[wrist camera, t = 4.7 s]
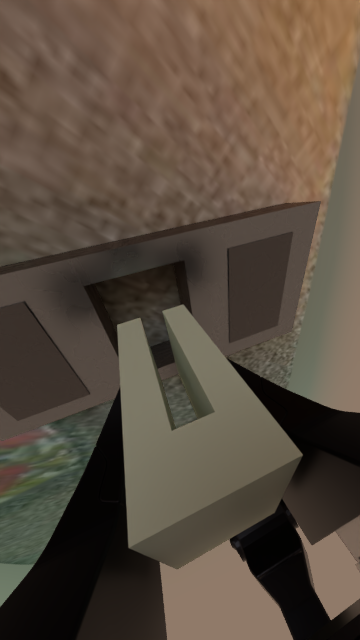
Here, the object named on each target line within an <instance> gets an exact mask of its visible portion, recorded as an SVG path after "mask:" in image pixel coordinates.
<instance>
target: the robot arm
mask: <svg viewBox="0 0 360 640" xmlns="http://www.w3.org/2000/svg"><path fill="white" fill-rule="evenodd" d="M226 359H227V358H226ZM227 360H228V361H229V363H230V364H231V365H232V366H233V368H234V369H235V370H236V371H237V373H238V374H239V375H240V376H241V378H242V379H243V380H244V381H245V383H246V384H247V385H248V386H249V388H250V389H251V390H252V391H253V393H254V394H255V395H256V396H257V398H258V399H259V400H260V401H261V403H262V404H263V405H264V406H265V408H266V409H267V410H268V412H269V413H270V414H271V415H272V417H273V418H274V419H275V420H276V422H277V423H278V424H279V425H280V427H281V428H282V429H283V430H284V432H285V433H286V434H287V435H288V437H289V438H290V439H291V440H292V442H293V443H294V444H295V445H296V447H297V448H298V449H299V450H300V452H301V453H302V454H303V456H302V458H301V460H300V462H299V464H298V466H297V468H296V470H295V472H294V474H293V476H292V478H291V480H290V482H289V484H288V486H287V488H286V490H285V492H284V494H283V497H282V499H281V501H280V503H279V505H278V507H277V509H276V511H275V513H273V514H271V515H270V516H268V517H266V518H265V519H263V520H261V521H259V522H258V523H256V524H254V525H253V526H251V527H249V528H247V529H246V530H244V531H242V532H241V533H239V534H237V535H235V536H234V537H232V538H230V543H231V545H232V547H233V548H234V549H235V550H237V552H238V554H239V555H240V557H241V558H242V560H243V562H244V561H247V564H248V567H249V569H250V571H251V573H252V574H253V575H254V577H255V578H256V579H257V581H258V582H259V584H260V585H261V586H262V587H263V589H264V590H265V591H266V592H267V593H268V594H269V596H270V597H271V598H272V599H273V600H274V601H275V603H276V604H277V605H278V606H279V607H280V608H281V611H282V613H283V616H284V618H285V620H286V623H287V625H288V627H289V630H290V632H291V635H292V637H293V640H360V599H359V600H357V601H356V602H355V603H354V604H352V605H351V606H350V607H348V608H347V609H346V610H344V611H343V612H342V613H340V614H339V615H338V616H337V617H335V618H334V619H332V620H330V618H329V616H328V614H327V613H326V611H325V609H324V607H323V605H322V603H321V602H320V600H319V598H318V596H317V594H316V593H315V589H314V583H313V579H312V574H311V569H310V565H309V560H308V555H307V552H306V550H305V548H304V545H303V543H302V540H301V538H300V536H299V534H298V533H297V531H296V528H298V525H299V526H300V528H301V529H302V531H303V533H304V534H305V536H306V537H307V539H308V540H309V542H310V543H311V545H314V544H315V543H317V542H318V541H320V540H322V539H323V538H324V537H326V536H328V535H329V534H331V533H333V532H334V531H336V533H337V534H338V536H339V537H340V538H341V540H342V541H343V543H344V544H345V545H346V547H347V548H348V550H349V551H350V553H351V554H352V555H353V557H354V558H355V560H356V561H357V562H358V563H357V564H356V567H357V569H358V570H359V572H360V413H355V412H345V411H339V410H336V409H331V408H329V407H326V406H324V405H321V404H319V403H317V402H314V401H312V400H310V399H307V398H305V397H303V396H300V395H298V394H296V393H293V392H291V391H289V390H287V389H285V388H282V387H280V386H278V385H276V384H274V383H272V382H270V381H268V380H266V379H265V378H263V377H260V376H259V375H257V374H255V373H253V372H251V371H250V370H248V369H246V368H244V367H242V366H240V365H238V364H237V363H235V362H233V361H231V360H229V359H227ZM96 446H97V447H95V448H94V450H93V453H92V455H91V458H90V460H89V462H88V464H87V467H86V469H85V471H84V473H83V475H82V477H81V479H80V481H79V484H78V486H77V488H76V490H75V492H74V494H73V496H72V498H71V499H70V501H69V503H68V505H67V507H66V509H65V511H64V513H63V515H62V517H61V519H60V521H59V523H58V525H57V527H56V529H55V531H54V533H53V535H52V537H51V538H50V540H49V542H48V544H47V546H46V547H45V549H44V551H43V552H42V554H41V556H40V557H39V559H38V560H37V562H36V563H35V564H34V566H33V567H32V569H31V570H30V571H29V573H28V574H27V575H26V576H25V578H24V579H23V580H22V581H21V582H20V584H19V585H18V586H17V587H16V589H15V590H14V591H13V592H12V594H11V595H10V596H9V597H8V598H7V600H6V601H5V602H4V603H3V605H2V606H1V607H0V640H167V634H166V623H165V613H164V603H163V593H162V583H161V574H160V563H159V561H157V560H155V559H153V558H150V557H148V556H146V555H143V554H141V553H139V552H137V551H134V550H132V549H130V548H129V547H128V527H127V507H126V488H125V468H124V449H123V429H122V409H121V390H120V388H119V390H118V393H117V395H116V397H115V400H114V402H113V405H112V407H111V409H110V412H109V414H108V417H107V419H106V422H105V424H104V426H103V429H102V431H101V434H100V436H99V438H98V441H97V443H96ZM296 521H297V522H296ZM297 523H298V524H297Z"/></svg>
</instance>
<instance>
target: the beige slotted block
mask: <svg viewBox="0 0 360 640" xmlns="http://www.w3.org/2000/svg"><path fill="white" fill-rule="evenodd" d="M162 312H163V316H164V320H165V324H166V328H167V332H168V336H169V340H170V344H171V348H172V352H173V355H174V359H175V363H176V367H177V371H178V374H179V376H180V378H181V381H182V383H183V386H184V388H185V390H186V393H187V395H188V397H189V400H190V402H191V405H192V407H193V409H194V412H195V414H196V416H197V419H198V420H196V421H193V422H191V423H189V424H186V425H184V426H182V427H180V428H177V429H176V427H175V424H174V421H173V417H172V414H171V411H170V407H169V404H168V401H167V397H166V394H165V391H164V387H163V384H162V381H161V377H160V375H159V372H158V369H157V366H156V363H155V360H154V357H153V354H152V351H151V348H150V345H149V342H148V339H147V336H146V333H145V330H144V327H143V324H142V322H141V319H140V318H138V319H134V320H131V321H128V322H125V323H121V324H118V325H117V331H118V350H119V370H120V390H121V409H122V429H123V449H124V468H125V488H126V507H127V527H128V547H129V548H130V549H132V550H134V551H137V552H139V553H141V554H143V555H146V556H148V557H150V558H153V559H155V560H157V561H159V562H162V563H164V564H166V565H168V566H171V567H173V568H175V569H179V568H181V567H182V566H184V565H186V564H188V563H189V562H191V561H193V560H194V559H196V558H198V557H200V556H201V555H203V554H204V553H206V552H208V551H210V550H212V549H213V548H215V547H217V546H218V545H220V544H222V543H223V542H225V541H227V540H229V539H230V538H232V537H234V536H235V535H237V534H239V533H241V532H242V531H244V530H246V529H247V528H249V527H251V526H253V525H254V524H256V523H258V522H259V521H261V520H263V519H265V518H266V517H268V516H270V515H271V514H273V513H275V511H276V509H277V507H278V505H279V503H280V501H281V499H282V497H283V494H284V492H285V490H286V488H287V486H288V484H289V482H290V480H291V478H292V476H293V474H294V472H295V470H296V468H297V466H298V464H299V462H300V460H301V458H302V456H303V454H302V453H301V452H300V450H299V449H298V448H297V447H296V445H295V444H294V443H293V442H292V440H291V439H290V438H289V437H288V435H287V434H286V433H285V432H284V430H283V429H282V428H281V427H280V425H279V424H278V423H277V422H276V420H275V419H274V418H273V417H272V415H271V414H270V413H269V412H268V410H267V409H266V408H265V406H264V405H263V404H262V403H261V401H260V400H259V399H258V398H257V396H256V395H255V394H254V393H253V391H252V390H251V389H250V388H249V386H248V385H247V384H246V383H245V381H244V380H243V379H242V378H241V376H240V375H239V374H238V373H237V371H236V370H235V369H234V368H233V366H232V365H231V364H230V363H229V361H228V360H227V359H226V358H225V356H224V355H223V354H222V353H221V351H220V350H219V349H218V347H217V346H216V345H215V344H214V342H213V341H212V340H211V339H210V337H209V336H208V335H207V334H206V332H205V331H204V330H203V329H202V327H201V326H200V325H199V324H198V322H197V321H196V320H195V319H194V317H193V316H192V315H191V314H190V312H189V311H188V310H187V309H186V307H185V306H184V305H180V306H177V307H173V308H170V309H167V310H164V311H162Z"/></svg>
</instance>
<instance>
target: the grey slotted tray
mask: <svg viewBox="0 0 360 640" xmlns="http://www.w3.org/2000/svg"><path fill="white" fill-rule="evenodd" d="M320 202H321V201H314V202H297V203H284V204H279V205H275V206H270V207H266V208H261V209H257V210H253V211H248V212H244V213H239V214H235V215H230V216H226V217H221V218H217V219H212V220H208V221H203V222H199V223H194V224H190V225H185V226H181V227H176V228H172V229H167V230H163V231H159V232H154V233H150V234H145V235H141V236H136V237H132V238H127V239H123V240H118V241H114V242H109V243H105V244H100V245H96V246H91V247H87V248H82V249H78V250H73V251H69V252H65V253H60V254H56V255H51V256H47V257H42V258H38V259H33V260H29V261H24V262H20V263H15V264H11V265H6V266H2V267H0V440H1V441H4V440H6V439H9V438H11V437H14V436H17V435H19V434H22V433H25V432H27V431H30V430H33V429H35V428H38V427H40V426H43V425H46V424H48V423H51V422H54V421H56V420H59V419H62V418H64V417H67V416H69V415H72V414H75V413H77V412H80V411H83V410H85V409H88V408H91V407H93V406H96V405H98V404H101V403H104V402H106V401H109V400H112V399H114V398H115V397H116V395H117V393H118V390H119V388H120V370H119V350H118V336H117V333H116V331H115V329H114V327H113V325H112V322H111V320H110V318H109V316H108V314H107V311H106V309H105V307H104V305H103V302H102V300H101V298H100V296H99V294H98V291H97V289H96V287H95V285H94V283H98V282H102V281H105V280H109V279H113V278H117V277H121V276H125V275H128V274H132V273H136V272H140V271H144V270H148V269H152V268H155V267H159V266H163V265H167V264H171V263H173V265H174V270H175V276H176V281H177V287H178V292H179V298H180V303H181V305H184V306H185V307H186V309H187V310H188V311H189V312H190V314H191V315H192V316H193V317H194V319H195V320H196V321H197V322H198V324H199V325H200V326H201V327H202V329H203V330H204V331H205V332H206V334H207V335H208V336H209V337H210V339H211V340H212V341H213V342H214V344H215V345H216V346H217V347H218V349H219V350H220V351H221V353H222V354H223V355H224V356H228V355H230V354H233V353H235V352H238V351H241V350H243V349H246V348H249V347H251V346H254V345H257V344H259V343H262V342H264V341H267V340H270V339H272V338H275V337H278V336H280V335H283V334H286V333H288V332H291V331H292V328H293V323H294V319H295V314H296V310H297V305H298V301H299V296H300V292H301V287H302V283H303V278H304V274H305V269H306V265H307V260H308V256H309V252H310V247H311V243H312V238H313V234H314V229H315V225H316V220H317V216H318V211H319V207H320ZM150 348H151V351H152V354H153V357H154V360H155V363H156V366H157V369H158V372H159V375H160V377H161V381H162V380H164V379H167V378H170V377H172V376H175V375H177V374H178V371H177V367H176V363H175V359H174V355H173V352H172V348H171V344H170V340H169V341H166V342H163V343H160V344H157V345H155V346H152V347H150Z"/></svg>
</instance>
